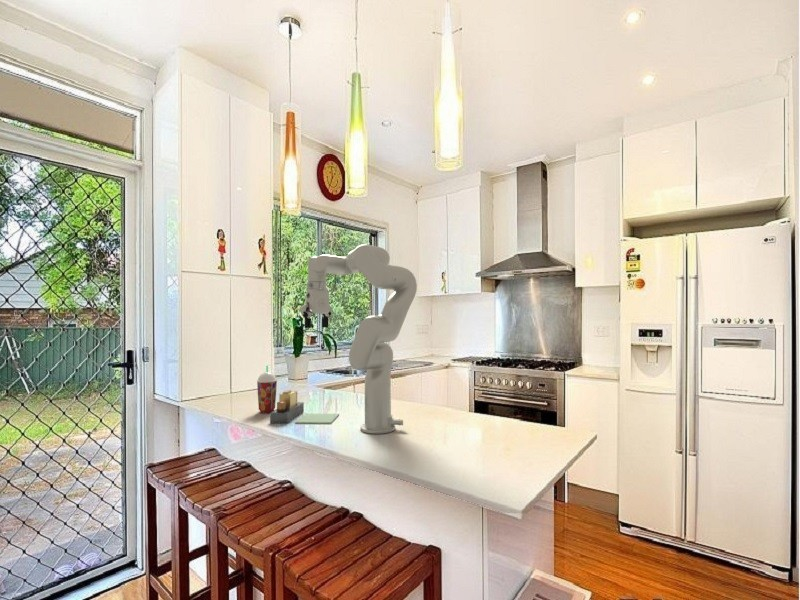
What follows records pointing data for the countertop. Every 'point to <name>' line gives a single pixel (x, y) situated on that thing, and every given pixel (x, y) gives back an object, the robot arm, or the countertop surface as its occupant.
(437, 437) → the countertop surface
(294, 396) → the lever cap
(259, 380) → the smoothie
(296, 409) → the hand plane
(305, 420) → the rubber mat
